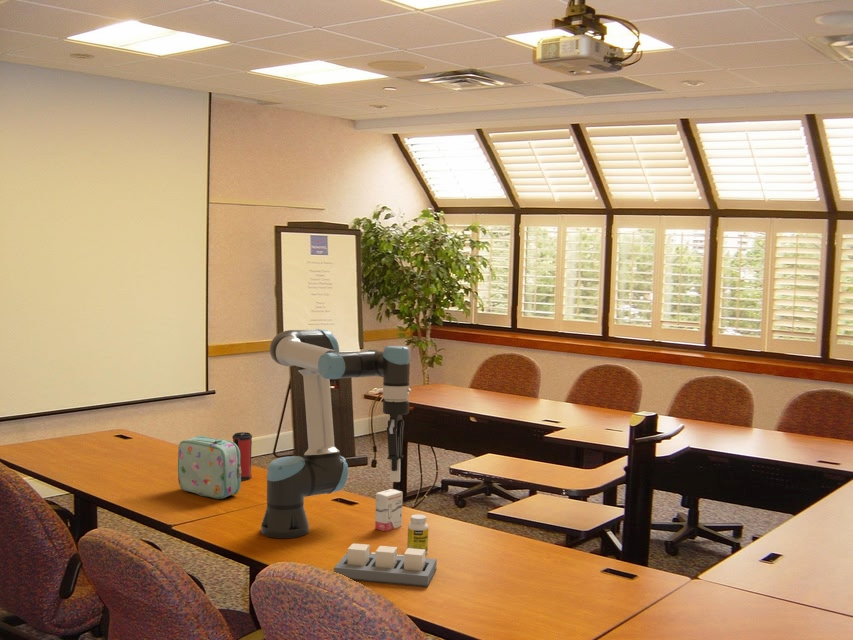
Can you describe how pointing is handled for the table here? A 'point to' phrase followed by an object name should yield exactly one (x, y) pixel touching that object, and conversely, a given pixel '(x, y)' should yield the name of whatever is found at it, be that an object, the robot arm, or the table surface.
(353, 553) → the button left
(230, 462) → the lunch box
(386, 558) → the button middle
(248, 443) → the red travel mug
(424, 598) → the table surface
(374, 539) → the table surface
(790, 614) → the table surface
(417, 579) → the board
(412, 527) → the pill bottle
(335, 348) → the robot arm
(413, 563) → the button right
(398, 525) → the ink box
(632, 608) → the table surface
